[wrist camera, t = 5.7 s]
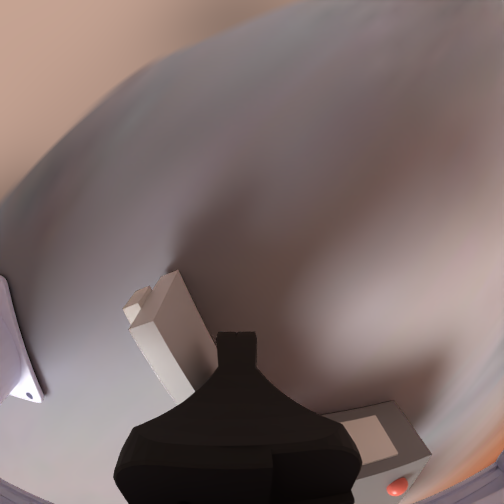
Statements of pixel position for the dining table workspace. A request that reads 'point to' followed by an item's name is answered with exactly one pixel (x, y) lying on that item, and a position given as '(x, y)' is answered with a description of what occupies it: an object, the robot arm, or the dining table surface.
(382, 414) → the camera case
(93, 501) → the dining table surface
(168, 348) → the side door
